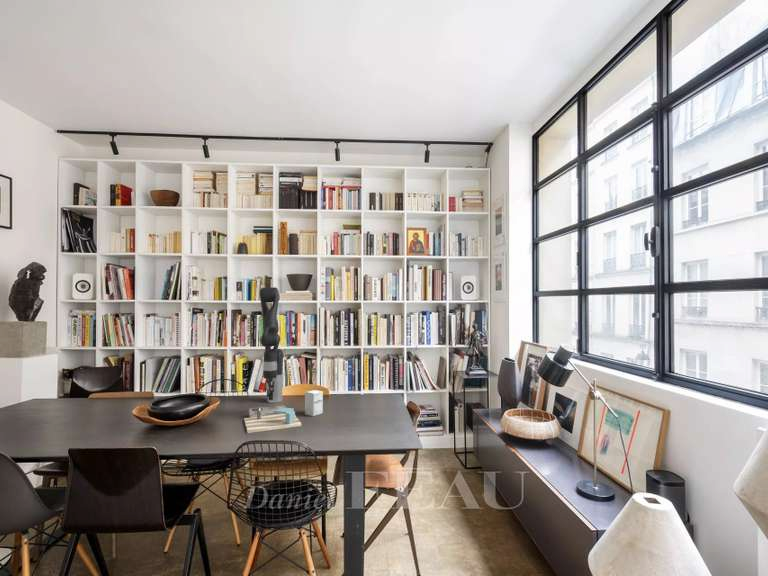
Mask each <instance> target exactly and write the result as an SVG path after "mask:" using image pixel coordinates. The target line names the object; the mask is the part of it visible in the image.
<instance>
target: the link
mask: <svg viewBox="0 0 768 576" xmlns="http://www.w3.org/2000/svg"><path fill="white" fill-rule="evenodd" d="M260 407H261V416H268V415H277V414H281V413H274V411H275V410H277V409H279V408H281V407H283V408H287V407H286V405H277V406H275V405H274V406H269V407H268V406H267V407H264V406H260ZM248 409H249V410H248V412H249V414H248V415H249V417H248V418H251V417H257V407H252V408H248Z"/></svg>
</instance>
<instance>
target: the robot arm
mask: <svg viewBox="0 0 768 576" xmlns="http://www.w3.org/2000/svg"><path fill="white" fill-rule="evenodd" d="M259 298H260V305H261V314H262V329H263V332H262V334H261V338H260V344H261V345H262V346H263V347H264V352H263V364H262V367H263V369H262V371H263V372H262V377H263V379H266V381H265V388H266V397H267V399H266V400H267V401H266V402H267V403H270V404H275V403H280V402H281V403H282V401H283V369H284V368H283V366H284V365H283V364H284V350H282V349H279V346H280V342H281V336H280V334H279V330H280V328H279V320H278V318H277V317H278V309H279V300H280V296H279V288H277V287H276V286H275V287H272V286H271V287H261V288H260V289H259ZM267 303H268V304H269V303H272V305H271V307H270V308H269V306H268V304H267Z"/></svg>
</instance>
